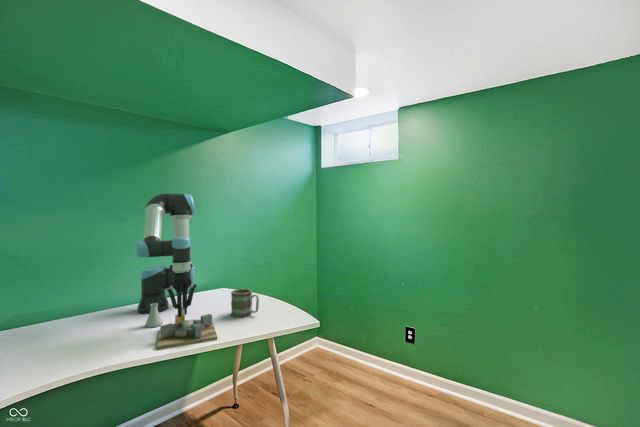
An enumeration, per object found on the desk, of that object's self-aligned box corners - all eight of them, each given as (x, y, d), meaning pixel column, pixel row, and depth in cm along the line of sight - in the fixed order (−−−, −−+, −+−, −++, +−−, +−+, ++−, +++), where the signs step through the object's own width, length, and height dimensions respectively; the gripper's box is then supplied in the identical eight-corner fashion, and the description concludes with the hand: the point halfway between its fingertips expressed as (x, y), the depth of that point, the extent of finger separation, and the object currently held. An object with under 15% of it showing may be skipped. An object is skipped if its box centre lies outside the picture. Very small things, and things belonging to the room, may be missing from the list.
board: (160, 329, 134) (160, 317, 134) (211, 322, 144) (211, 310, 144) (157, 349, 115) (157, 334, 115) (217, 339, 124) (217, 325, 124)
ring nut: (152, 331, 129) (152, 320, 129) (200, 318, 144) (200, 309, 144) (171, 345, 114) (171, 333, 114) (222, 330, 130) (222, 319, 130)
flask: (155, 328, 136) (155, 306, 136) (141, 327, 138) (141, 305, 138) (166, 323, 143) (166, 302, 143) (153, 322, 145) (153, 301, 145)
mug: (226, 316, 153) (226, 292, 153) (239, 310, 163) (239, 288, 163) (252, 320, 147) (252, 295, 147) (264, 313, 157) (264, 290, 157)
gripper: (169, 274, 130) (170, 328, 130) (198, 270, 138) (199, 320, 139) (163, 272, 135) (164, 324, 135) (192, 268, 144) (193, 316, 144)
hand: (182, 322), depth 137 cm, fingers closed
